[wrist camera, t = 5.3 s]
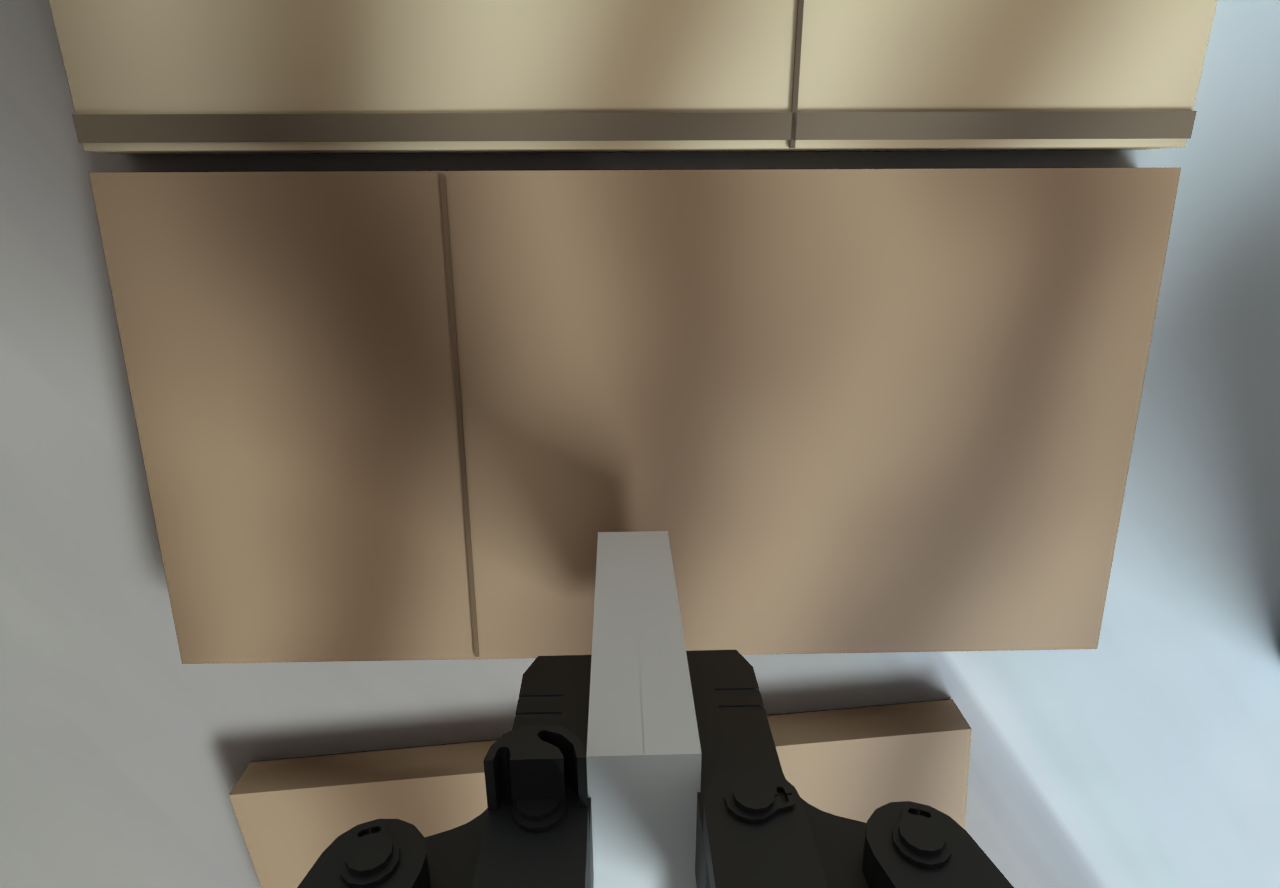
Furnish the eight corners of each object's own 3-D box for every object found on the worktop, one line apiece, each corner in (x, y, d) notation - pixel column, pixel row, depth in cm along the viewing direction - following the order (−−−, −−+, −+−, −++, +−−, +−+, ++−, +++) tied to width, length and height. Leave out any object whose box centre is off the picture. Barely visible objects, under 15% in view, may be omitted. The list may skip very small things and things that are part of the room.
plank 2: (297, 903, 23) (280, 941, 22) (249, 762, 21) (228, 795, 20) (943, 847, 22) (961, 882, 21) (952, 699, 21) (971, 728, 20)
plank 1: (209, 637, 19) (180, 665, 17) (128, 177, 16) (86, 172, 15) (1068, 624, 19) (1098, 650, 18) (1141, 172, 16) (1183, 166, 15)
